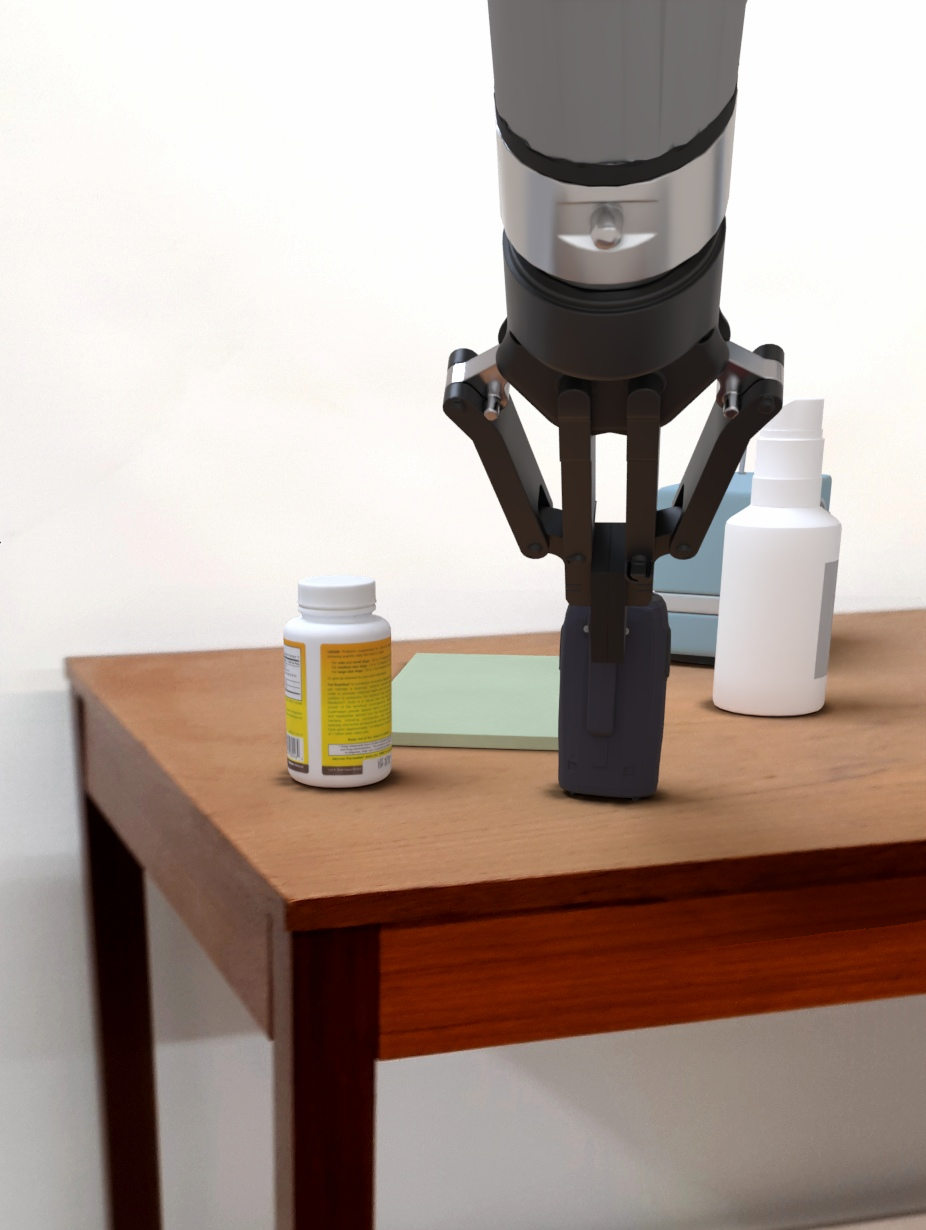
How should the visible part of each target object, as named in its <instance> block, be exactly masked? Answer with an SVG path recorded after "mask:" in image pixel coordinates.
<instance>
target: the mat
mask: <svg viewBox="0 0 926 1230" xmlns="http://www.w3.org/2000/svg"><path fill="white" fill-rule="evenodd" d="M559 687H560V670H559V655H535V654H534V655H530V654H529V655H528V654H527V655H525V654H488V653H487V654H484V653H483V654H482V653H442V652H441V653H439V652H438V653H436V652H435V653H434V652H428V653H426V652H416V653H415V654H414V655H413V656H412V658H410V660H409V661H408V662H407V663H406V664H405V666H403V668H402V669H401V671H400V672H399V673H398V674H397V675H395V677H394V678H393V680H392V746H403V747H405V746H407V747H434V748H435V747H436V748H467V749H468V748H469V749H497V750H498V749H499V750H502V749H503V750H528V751H530V750H532V751H534V750H535V751H558V714H559Z"/></svg>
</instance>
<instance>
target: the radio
mask: <svg viewBox="0 0 926 1230" xmlns="http://www.w3.org/2000/svg"><path fill="white" fill-rule="evenodd" d="M747 451H748V447H747V448H746V450H745V452H744V454H743V456H742V459H741V461H740V463H739V465H738V471H735V474H734V476H733V478H732V480H731V482H730V484H729V486H728V489H727V491H726V493H725V495H724V497H723V499H722V502H721V504H720V506H719V508H718V510H717V512H716V514H715V517H714V519H713V521H712V523H711V525H710V527H709V529H708V532H707V534H706V536H705V538H704V540H703V542H702V545H701V547H700V549H699V551H698V553H697V554H696V556H695V557H693V558H691V559H687V560H679V559H675V558H673V557H672V556H671V555H670V554H667V555H664V556H661V557H660V558H658V559H657V560H656V561H655V564H654V581H653V593H657V594H659V595H660V596H662V597H663V599H664V601H665V602H666V606H667V611H668V622H669V627H670V629H671V658H670V661H674V662H675V661H676V662H683V663H688V664H689V663H690V664H700V665H710V666H711V665H712V666H715V657H716V644H717V630H718V617H719V603H720V590H721V576H722V563H723V550H724V536H725V525H726V522H727V521H728V519H729V518H730V517H732V516H734V515H735V514H737V513H738V512H740V511H742V510H743V509H745V508H746V507H748V506H749V505H750V503H751V491H752V478H753V475H754V471H745V468H746V458H747ZM821 475H822V488H821V498H820V506H821V507H822V508H823V509H825V510H826V511H827V512H829V513H830V514H831V511H830V505H831V504H830V503H831V494H832V484H833V479H832V478H833V477H832V476H831V474H825V473H821ZM680 483H681V482H679V483H676V484H670V485H666V486H662V487H660V488H658V503H657V510H661V509H666V508H670V507H672V501H673V499H674V497H675V494H676V492H677V490H678V487H679V485H680ZM831 515H832V514H831Z"/></svg>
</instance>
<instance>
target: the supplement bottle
mask: <svg viewBox="0 0 926 1230" xmlns="http://www.w3.org/2000/svg"><path fill="white" fill-rule="evenodd" d="M376 587H377V586H376V580H375V579H374V578H372V577H369V576H363V575H354V574H353V575H352V574H351V575H349V574H347V575H346V574H333V575H332V574H331V575H330V574H329V575H327V574H326V575H317V576H315V575H314V576H308V577H304V578H302V579H299V580H298V583H297V601H296V603H297V605H298V606H297V612H298V613H300V614H301V615H299V616H296V617H293V618H291V619H290V620H288V621H287V622H286V624H285V625H284V627H283V638H282V639H283V667H284V700H285V706H284V707H285V727H286V729H285V730H286V731H285V733H286V735H285V736H286V762H287V771H288V773H289V775H290V777H291V778H293V779H294V780H295V781H296V782H299V783H301V784H304V785H307V786H311V787H317V788H318V787H319V788H332V789H333V788H334V789H338V788H339V789H340V788H341V789H342V788H355V787H357V788H358V787H363V786H368V785H372V784H375V783H378V782H380V781H383V780H384V779H386V778H387V777H388V776H389V774H390V773H391V771H392V767H393V766H392V765H393V745H392V681H393V680H392V678H393V677H392V676H393V675H392V669H393V668H392V628H391V624H390V622H389V620H387V619H386V618H385V617H383V616H381V615H378V614H373V612H374V611H376V610H377V604H376V603H377V601H378V600H377V595H376V594H377V593H376V592H377V591H376Z"/></svg>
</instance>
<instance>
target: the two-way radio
mask: <svg viewBox="0 0 926 1230" xmlns="http://www.w3.org/2000/svg"><path fill="white" fill-rule="evenodd" d="M562 623H563V624H562V625H561V627H560V636H559V637H560V639H559V655H558V656H559V670H560V687H559V714H558V750H557V751H558V756H557V757H558V759H557V760H558V767H557V780H558V786H559V787H560V789H562V790H564V791H566V792H569V795H571V796H575V795H576V794H580V795H587V796H588V795H589V796H599V797H609V798H620V799H621V798H622V799H632V802H638V800H639V799H640V798H645V797H651V796H652V795H654V794H655V793H656V792H657V790H658V786H659V778H660V766H661V757H662V747H663V740H664V728H665V716H666V699H667V682H668V678H669V677H670V673H671V660H670V658H671V629H670V627H669V622H668V611H667V606H666V602H665V601H664V599H663V597H662V596H660V595H659V594H657V593H653V596H652V601H651V602H650V603H649V605H648V606H627V623H626V637H625V651H624V663H591V606H570V605H569V604H568V605H567V608H566V611H565V615H564V620H563V622H562Z"/></svg>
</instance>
